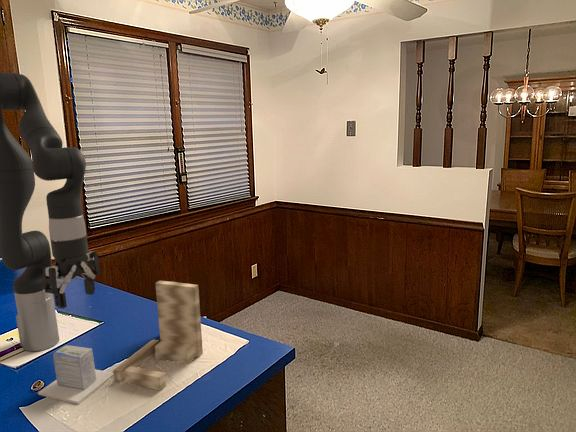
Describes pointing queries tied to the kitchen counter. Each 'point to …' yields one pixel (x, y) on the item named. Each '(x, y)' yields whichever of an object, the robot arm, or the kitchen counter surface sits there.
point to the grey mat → (75, 389)
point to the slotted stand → (168, 335)
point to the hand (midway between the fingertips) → (76, 300)
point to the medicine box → (74, 367)
